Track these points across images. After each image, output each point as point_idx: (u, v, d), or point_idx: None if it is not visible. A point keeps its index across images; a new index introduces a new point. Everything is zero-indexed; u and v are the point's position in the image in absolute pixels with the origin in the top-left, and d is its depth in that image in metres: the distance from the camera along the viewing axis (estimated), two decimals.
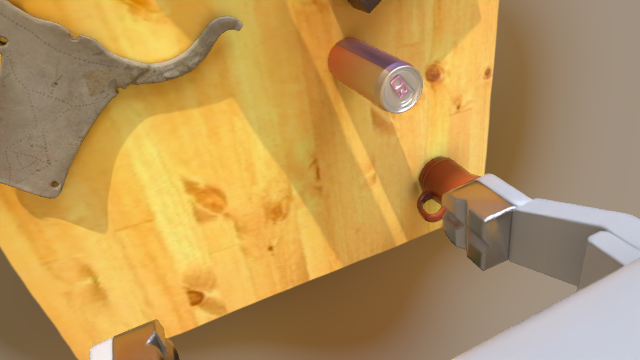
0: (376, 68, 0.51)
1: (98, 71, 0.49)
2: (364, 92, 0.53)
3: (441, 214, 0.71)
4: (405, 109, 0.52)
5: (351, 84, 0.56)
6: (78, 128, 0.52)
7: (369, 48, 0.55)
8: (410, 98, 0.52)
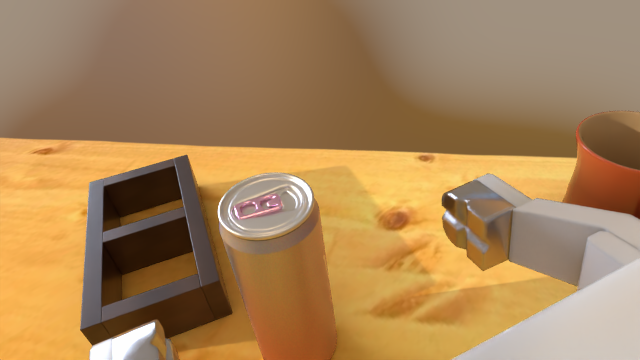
0: (226, 250, 0.26)
1: None
2: (274, 286, 0.26)
3: None
4: None
5: (285, 322, 0.28)
6: None
7: None
8: (296, 192, 0.26)
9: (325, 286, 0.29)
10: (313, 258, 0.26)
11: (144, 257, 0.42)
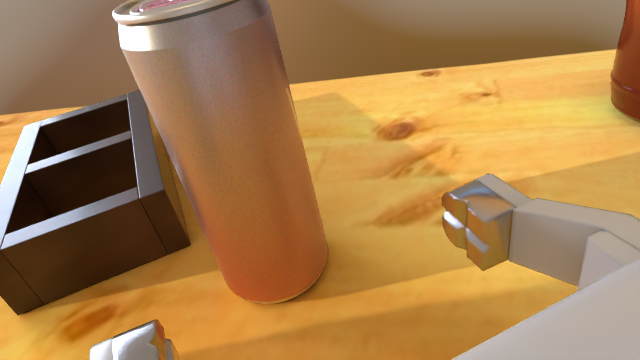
0: (135, 78, 0.17)
1: None
2: (208, 119, 0.16)
3: None
4: None
5: (237, 193, 0.18)
6: None
7: None
8: None
9: (295, 145, 0.19)
10: (265, 74, 0.17)
11: (84, 197, 0.33)
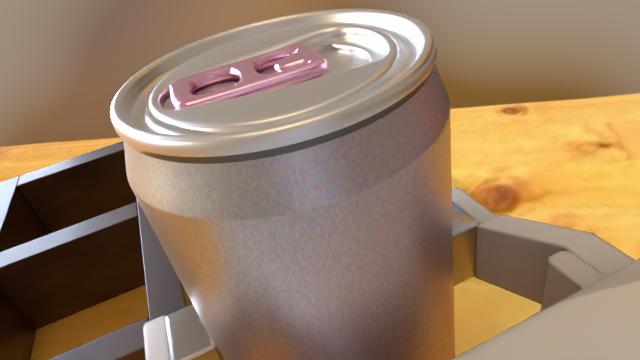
0: None
1: None
2: (322, 342, 0.07)
3: None
4: (420, 38, 0.07)
5: None
6: None
7: None
8: (364, 40, 0.09)
9: (453, 326, 0.10)
10: (440, 234, 0.08)
11: (72, 295, 0.24)
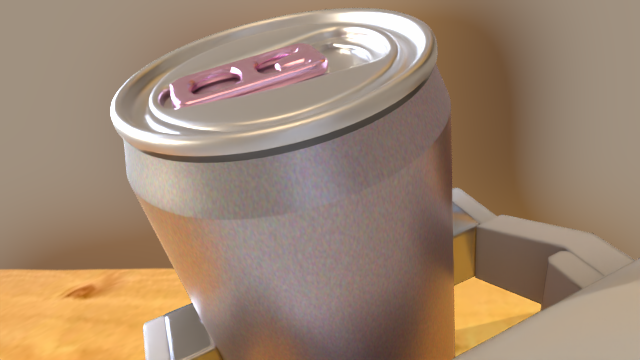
0: None
1: None
2: (322, 342, 0.07)
3: None
4: (421, 37, 0.07)
5: None
6: None
7: None
8: (364, 39, 0.09)
9: (453, 326, 0.10)
10: (441, 233, 0.08)
11: None
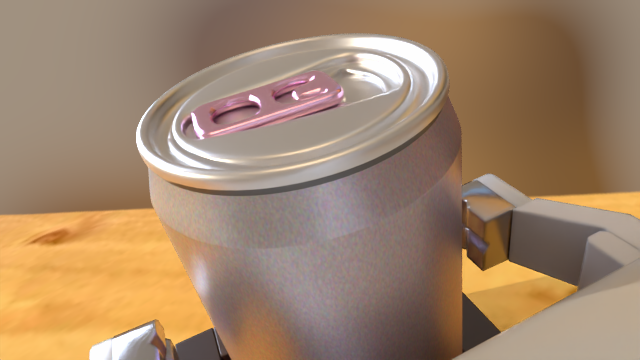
0: None
1: None
2: None
3: None
4: (433, 68, 0.08)
5: None
6: None
7: None
8: (377, 66, 0.09)
9: None
10: (451, 255, 0.08)
11: None
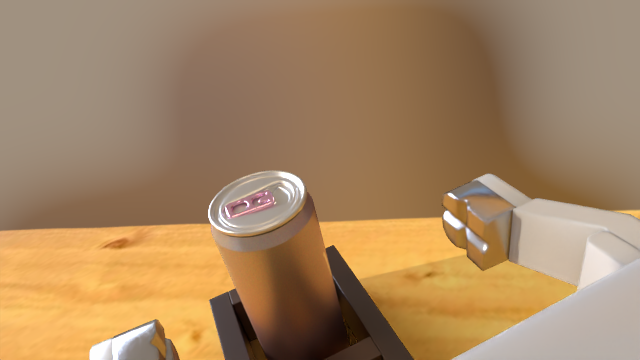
0: None
1: None
2: (273, 287, 0.24)
3: None
4: (302, 193, 0.24)
5: (289, 327, 0.26)
6: None
7: None
8: (289, 187, 0.25)
9: (329, 287, 0.27)
10: (311, 253, 0.25)
11: None
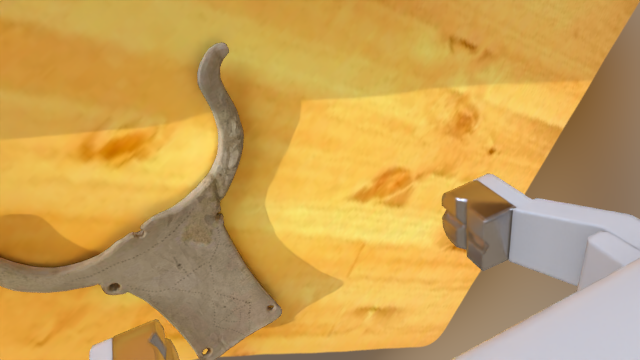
0: None
1: (188, 227, 0.41)
2: None
3: None
4: None
5: None
6: (233, 266, 0.46)
7: None
8: None
9: None
10: None
11: None
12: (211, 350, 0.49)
